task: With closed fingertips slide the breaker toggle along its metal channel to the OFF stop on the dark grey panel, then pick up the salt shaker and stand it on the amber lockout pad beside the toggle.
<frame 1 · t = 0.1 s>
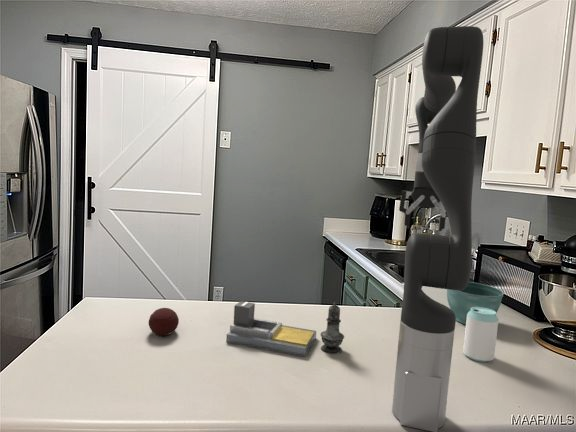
hand: (423, 229, 116), 29 cm above the counter, fingers open, 8 cm apart
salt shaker: (331, 349, 102), on the counter
breaker: (244, 315, 107), point 5 cm above the counter, slide at 0.0 cm
teal bowl: (470, 322, 129), on the counter
can: (477, 357, 103), on the counter
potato: (163, 333, 106), on the counter
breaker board: (272, 340, 105), on the counter
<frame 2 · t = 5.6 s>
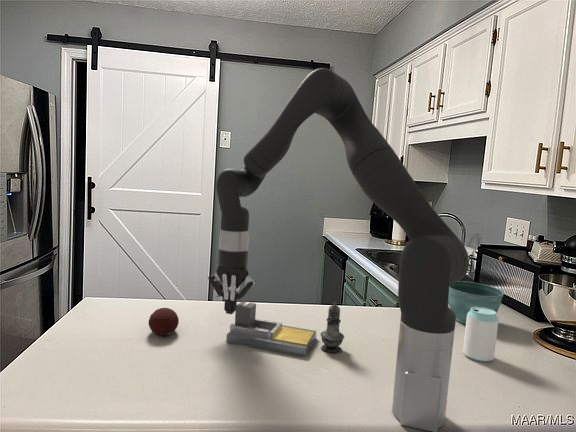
hand: (230, 313, 108), 5 cm above the counter, fingers closed
breaker: (245, 315, 107), point 5 cm above the counter, slide at 0.4 cm, touching gripper
everything else where it was.
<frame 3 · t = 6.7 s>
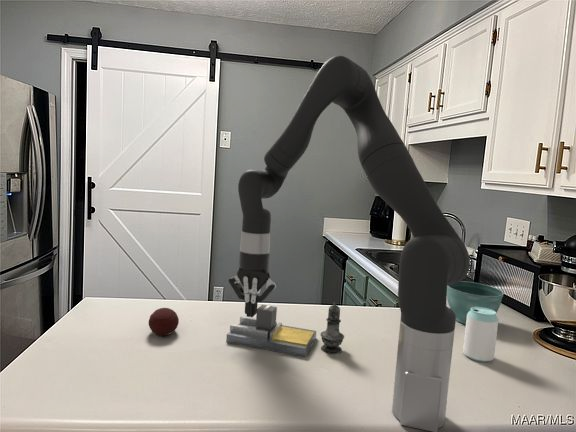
hand: (250, 316, 106), 5 cm above the counter, fingers closed
breaker: (266, 319, 105), point 5 cm above the counter, slide at 6.0 cm, touching gripper
everything else where it was.
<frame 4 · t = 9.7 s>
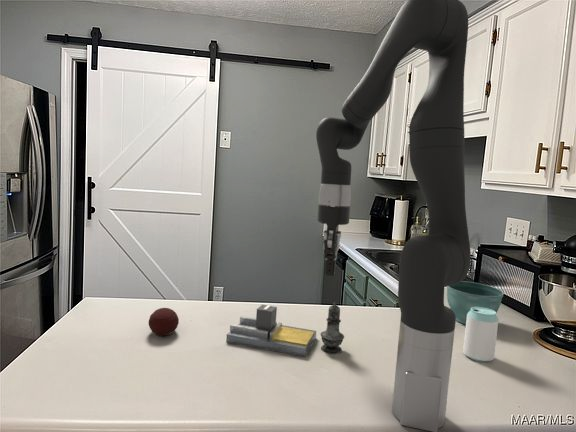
hand: (329, 274, 100), 19 cm above the counter, fingers closed
breaker: (266, 319, 105), point 5 cm above the counter, slide at 6.0 cm
everything else where it was.
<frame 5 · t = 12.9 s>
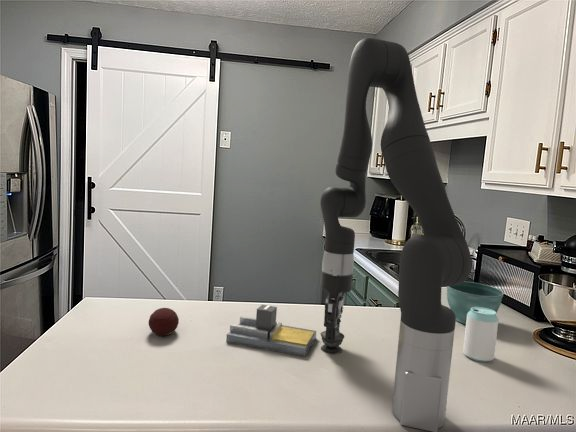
hand: (332, 337, 102), 3 cm above the counter, fingers closed on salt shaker, 6 cm apart
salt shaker: (331, 349, 102), on the counter, touching gripper
everything else where it was.
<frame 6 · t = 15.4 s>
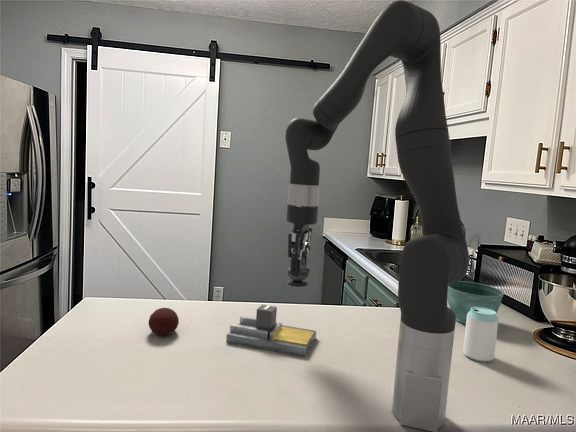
hand: (298, 271, 102), 19 cm above the counter, fingers closed on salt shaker, 6 cm apart
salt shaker: (297, 284, 102), point 15 cm above the counter, touching gripper
everything else where it was.
when the fingers open (7 cm above the counter, at t = 17.9 s): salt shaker drops 1 cm, resting on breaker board.
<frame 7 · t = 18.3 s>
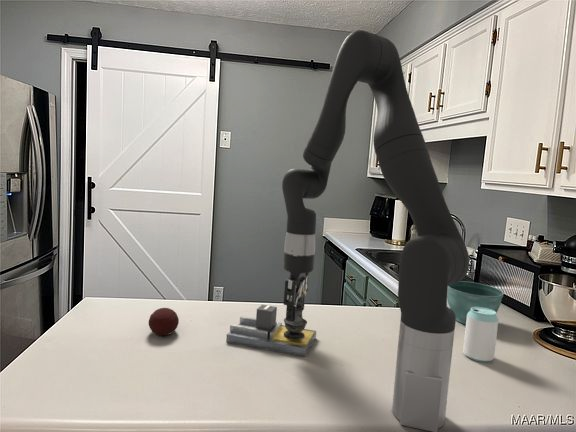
hand: (295, 315, 103), 7 cm above the counter, fingers open, 8 cm apart
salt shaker: (294, 335, 103), point 2 cm above the counter, touching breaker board
everything else where it was.
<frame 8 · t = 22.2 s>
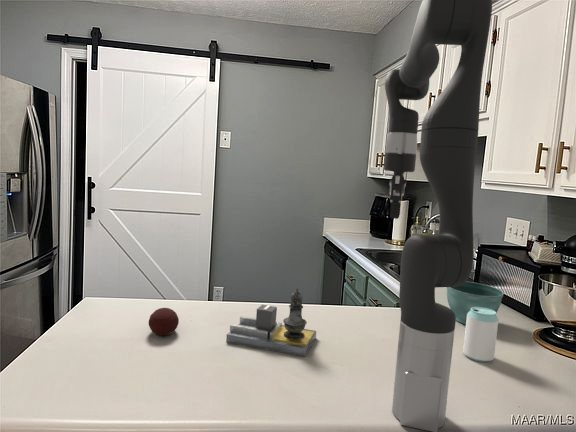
hand: (394, 216, 105), 33 cm above the counter, fingers open, 8 cm apart
nothing on the counter moved.
at the end: breaker slide at 6.0 cm; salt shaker inside the target area on the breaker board (0.1 cm from its centre), point 2.1 cm above the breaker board's base; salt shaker tilted 0° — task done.
